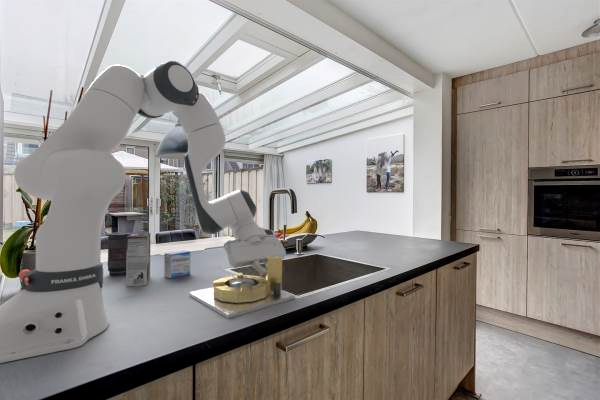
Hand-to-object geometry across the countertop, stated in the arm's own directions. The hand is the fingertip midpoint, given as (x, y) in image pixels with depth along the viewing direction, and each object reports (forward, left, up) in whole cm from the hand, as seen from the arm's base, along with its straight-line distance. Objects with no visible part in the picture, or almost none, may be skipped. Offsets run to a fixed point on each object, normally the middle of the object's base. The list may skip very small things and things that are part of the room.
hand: (267, 273), depth 95 cm
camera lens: (-29, +50, -6) cm, 58 cm away
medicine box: (-14, +35, -6) cm, 38 cm away
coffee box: (-27, +35, -6) cm, 45 cm away
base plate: (-9, 0, -5) cm, 10 cm away
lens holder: (-8, -1, -4) cm, 9 cm away
